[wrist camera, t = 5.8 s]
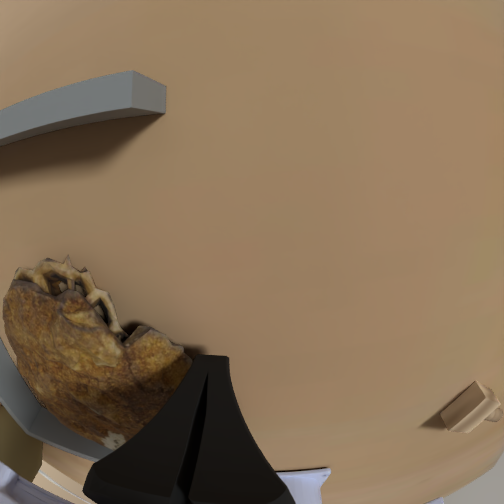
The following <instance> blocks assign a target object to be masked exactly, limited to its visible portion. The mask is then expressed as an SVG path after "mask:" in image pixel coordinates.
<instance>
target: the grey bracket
mask: <svg viewBox="0 0 504 504" xmlns="http://www.w3.org/2000/svg"><path fill="white" fill-rule="evenodd" d="M163 113H166V86H165V85H163V84H161V83H159V82H157V81H155V80H153V79H151V78H148V77H146V76H144V75H142V74H140V73H138V72H136V71H133V70H132V71H126V72H121V73H116V74H111V75H106V76H102V77H97V78H93V79H89V80H85V81H81V82H78V83H74V84H71V85H67V86H64V87H61V88H57V89H54V90H51V91H48V92H45V93H42V94H40V95H37V96H34V97H31V98H29V99H26V100H24V101H21V102H19V103H16V104H14V105H12V106H9V107H7V108H5V109H2V110H0V146H3V145H6V144H9V143H12V142H15V141H19V140H22V139H25V138H29V137H32V136H36V135H40V134H43V133H47V132H51V131H55V130H60V129H64V128H69V127H73V126H78V125H83V124H88V123H94V122H100V121H106V120H112V119H119V118H126V117H134V116H142V115H152V114H163ZM0 402H1V403H2V405H3V406H4V407H5V409H6V410H7V411H8V413H9V414H10V415H11V416H12V418H13V419H14V420H15V421H16V422H17V424H18V425H19V426H20V427H21V428H22V429H23V431H24V432H25V433H26V434H28V435H30V436H32V437H34V438H36V439H38V440H40V441H42V442H44V443H47V444H49V445H51V446H54V447H56V448H58V449H61V450H63V451H66V452H68V453H71V454H74V455H76V456H79V457H82V458H85V459H88V460H91V461H94V462H97V461H99V460H100V459H102V458H104V457H105V456H107V455H109V454H110V453H112V452H113V451H114V450H112V449H109V448H107V447H104V446H102V445H100V444H98V443H96V442H94V441H92V440H89V439H86V438H84V437H82V436H80V435H79V434H77V433H75V432H73V431H72V430H71V429H69V428H67V427H66V426H64V425H63V424H62V423H60V421H59V420H58V419H57V418H56V417H55V416H54V415H53V414H52V413H50V412H49V411H48V410H47V409H45V408H43V407H41V405H40V404H39V403H38V401H37V400H36V398H35V397H34V395H33V394H32V392H31V391H30V389H29V388H28V386H27V385H26V383H25V381H24V380H23V378H22V377H21V375H20V373H19V372H18V370H17V368H16V366H15V365H14V363H13V361H12V359H11V357H10V356H9V354H8V352H7V350H6V348H5V346H4V344H3V342H2V340H1V338H0Z"/></svg>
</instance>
